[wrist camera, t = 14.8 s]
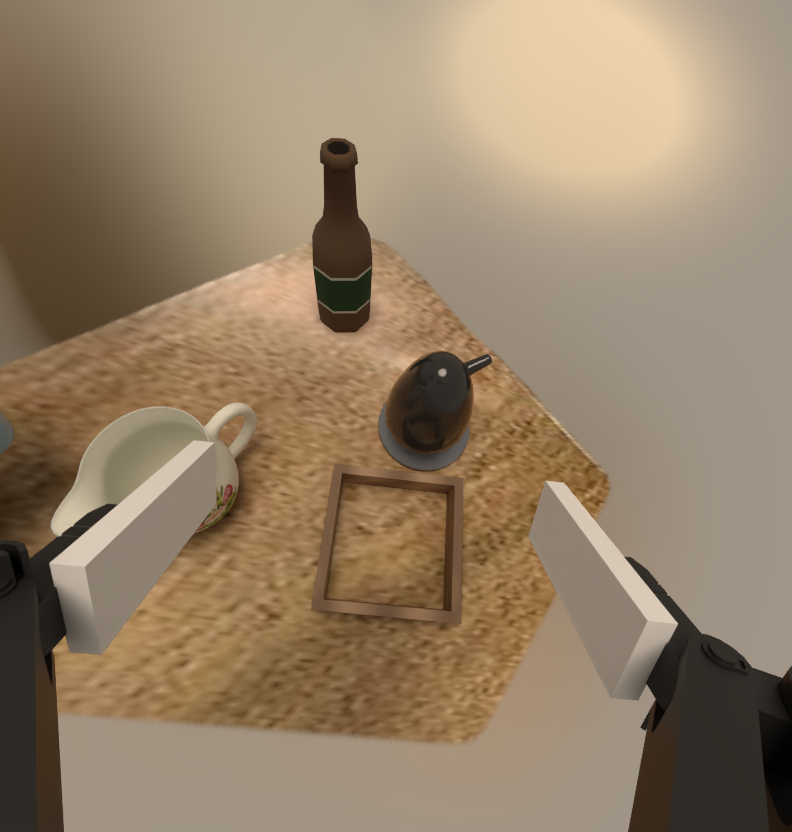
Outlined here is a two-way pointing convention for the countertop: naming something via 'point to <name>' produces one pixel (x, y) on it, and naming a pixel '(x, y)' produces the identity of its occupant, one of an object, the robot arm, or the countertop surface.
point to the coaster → (418, 459)
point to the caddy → (452, 546)
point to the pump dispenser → (433, 402)
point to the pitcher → (151, 459)
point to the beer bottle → (341, 244)
